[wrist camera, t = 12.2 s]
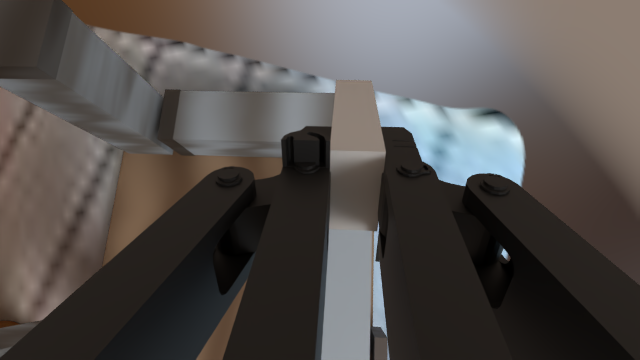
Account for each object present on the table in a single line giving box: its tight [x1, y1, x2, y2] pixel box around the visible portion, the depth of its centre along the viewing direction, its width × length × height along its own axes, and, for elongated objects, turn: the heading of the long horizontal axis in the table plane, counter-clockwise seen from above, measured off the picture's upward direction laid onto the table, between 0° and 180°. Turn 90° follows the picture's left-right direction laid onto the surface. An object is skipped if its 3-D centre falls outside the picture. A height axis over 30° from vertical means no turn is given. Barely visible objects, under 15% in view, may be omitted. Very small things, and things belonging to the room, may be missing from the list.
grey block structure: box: [0, 0, 387, 360], centre depth 23 cm, size 23×22×16 cm
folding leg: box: [321, 229, 372, 360], centre depth 25 cm, size 4×4×14 cm
